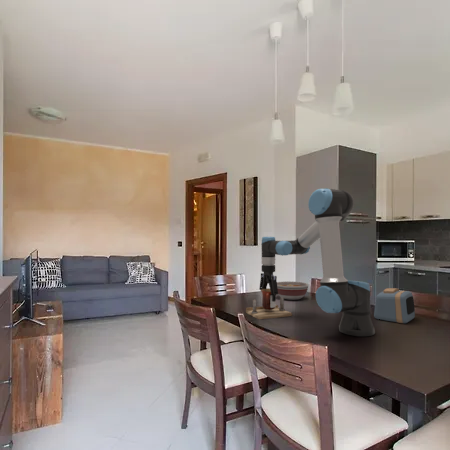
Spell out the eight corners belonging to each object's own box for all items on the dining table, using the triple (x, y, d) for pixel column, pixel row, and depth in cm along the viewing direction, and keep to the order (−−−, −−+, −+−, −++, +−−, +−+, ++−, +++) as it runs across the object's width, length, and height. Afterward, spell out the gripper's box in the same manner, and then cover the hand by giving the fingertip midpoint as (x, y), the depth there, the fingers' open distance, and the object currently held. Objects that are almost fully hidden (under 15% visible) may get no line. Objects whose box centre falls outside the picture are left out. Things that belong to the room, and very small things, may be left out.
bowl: (274, 295, 247) (274, 281, 248) (306, 295, 244) (306, 281, 244) (274, 301, 225) (274, 286, 225) (310, 302, 222) (310, 286, 222)
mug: (261, 305, 196) (262, 287, 196) (277, 307, 194) (277, 289, 194) (258, 311, 185) (259, 292, 185) (275, 312, 183) (275, 293, 182)
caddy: (292, 315, 186) (292, 300, 186) (258, 319, 179) (258, 302, 179) (277, 309, 201) (277, 295, 201) (245, 312, 193) (245, 297, 194)
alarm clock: (407, 325, 168) (406, 292, 168) (372, 319, 179) (372, 288, 179) (416, 318, 180) (415, 288, 180) (383, 313, 191) (382, 285, 191)
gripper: (284, 266, 181) (284, 309, 181) (264, 262, 202) (264, 301, 202) (272, 266, 179) (272, 310, 178) (253, 263, 199) (253, 301, 199)
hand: (268, 305), depth 190 cm, fingers closed on mug, 9 cm apart
